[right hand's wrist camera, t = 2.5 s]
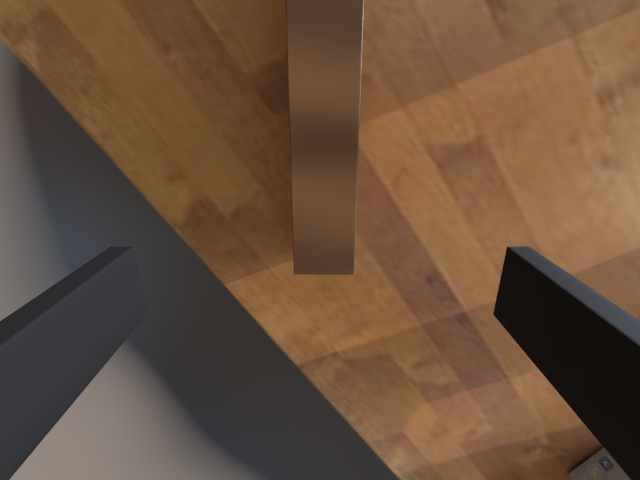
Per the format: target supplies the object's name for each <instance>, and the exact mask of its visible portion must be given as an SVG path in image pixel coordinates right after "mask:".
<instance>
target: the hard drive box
mask: <svg viewBox="0 0 640 480" xmlns="http://www.w3.org/2000/svg"><path fill="white" fill-rule="evenodd" d="M568 476H569V478H570V479H571V480H631V479H630V478H629V477H628V476H627V474H626V473H625V472H624V471H623V470H622V468H621V467H620V466H619V465H618V464H617V462H616V461H615V460H614V459H613V458H612V456H611V455H610V454H609V453H608V452H607V450H606V449H605V448H602V449H601V450H600V451H598V452H597V453H596V454H594V455H593V456H592V457H590V458H589V459H588V460H586V461H585V462H584V463H582V464H581V465H580V466H578V467H577V468H576V469H574V470H573V471H571V472H570V473H569V474H568Z"/></svg>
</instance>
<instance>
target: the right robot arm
mask: <svg viewBox="0 0 640 480" xmlns="http://www.w3.org/2000/svg"><path fill="white" fill-rule="evenodd" d="M493 315H494V316H495V317H496V318H497V319H498V321H499V322H500V323H501V324H502V325H503V327H504V328H505V329H506V330H507V331H508V333H509V334H510V335H511V336H512V337H513V339H514V340H515V341H516V342H517V343H518V345H519V346H520V347H521V348H522V349H523V351H524V352H525V353H526V354H527V355H528V357H529V358H530V359H531V360H532V361H533V363H534V364H535V365H536V366H537V367H538V369H539V370H540V371H541V372H542V373H543V375H544V376H545V377H546V378H547V379H548V381H549V382H550V383H551V384H552V385H553V387H554V388H555V389H556V390H557V391H558V393H559V394H560V395H561V396H562V397H563V399H564V400H565V401H566V402H567V404H568V405H569V406H570V407H571V408H572V410H573V411H574V412H575V413H576V414H577V416H578V417H579V418H580V419H581V420H582V422H583V423H584V424H585V425H586V426H587V428H588V429H589V430H590V431H591V432H592V434H593V435H594V436H595V437H596V438H597V440H598V441H599V442H600V443H601V444H602V446H603V447H604V448H605V449H606V450H607V452H608V453H609V454H610V455H611V456H612V458H613V459H614V460H615V461H616V462H617V464H618V465H619V466H620V467H621V468H622V470H623V471H624V472H625V473H626V474H627V476H628V477H629V478H630V479H631V480H640V321H638V320H637V319H635V318H634V317H632V316H631V315H629V314H628V313H626V312H625V311H624V310H622V309H621V308H619V307H618V306H616V305H615V304H613V303H612V302H610V301H609V300H607V299H606V298H604V297H603V296H601V295H600V294H598V293H597V292H595V291H594V290H592V289H591V288H589V287H588V286H586V285H585V284H583V283H582V282H580V281H579V280H578V279H576V278H575V277H573V276H572V275H570V274H569V273H567V272H566V271H564V270H563V269H561V268H560V267H558V266H557V265H555V264H554V263H552V262H551V261H549V260H548V259H546V258H545V257H543V256H542V255H540V254H539V253H537V252H536V251H535V250H533V249H532V248H530V247H507V250H506V255H505V260H504V265H503V270H502V275H501V280H500V284H499V289H498V294H497V299H496V304H495V309H494V314H493ZM145 316H146V309H145V304H144V299H143V294H142V289H141V284H140V280H139V275H138V270H137V265H136V260H135V255H134V250H133V247H110V248H108V249H107V250H106V251H104V252H103V253H101V254H100V255H98V256H97V257H95V258H94V259H92V260H91V261H89V262H88V263H86V264H85V265H83V266H82V267H80V268H79V269H77V270H76V271H74V272H73V273H71V274H70V275H68V276H67V277H65V278H64V279H62V280H61V281H60V282H58V283H57V284H55V285H54V286H52V287H51V288H49V289H48V290H46V291H45V292H43V293H42V294H40V295H39V296H37V297H36V298H34V299H33V300H31V301H30V302H28V303H27V304H25V305H24V306H22V307H21V308H19V309H18V310H16V311H15V312H14V313H12V314H11V315H9V316H8V317H6V318H5V319H3V320H2V321H0V480H9V479H10V478H11V477H12V476H13V474H14V473H15V472H16V471H17V470H18V468H19V467H20V466H21V465H22V464H23V462H24V461H25V460H26V459H27V458H28V456H29V455H30V454H31V453H32V452H33V450H34V449H35V448H36V447H37V446H38V444H39V443H40V442H41V441H42V440H43V438H44V437H45V436H46V435H47V434H48V432H49V431H50V430H51V429H52V428H53V426H54V425H55V424H56V423H57V422H58V420H59V419H60V418H61V417H62V415H63V414H64V413H65V412H66V411H67V409H68V408H69V407H70V406H71V405H72V404H73V402H74V401H75V400H76V399H77V397H78V396H79V395H80V394H81V393H82V391H83V390H84V389H85V388H86V387H87V385H88V384H89V383H90V382H91V381H92V379H93V378H94V377H95V376H96V375H97V373H98V372H99V371H100V370H101V369H102V367H103V366H104V365H105V364H106V363H107V361H108V360H109V359H110V358H111V357H112V355H113V354H114V353H115V352H116V351H117V349H118V348H119V347H120V346H121V345H122V343H123V342H124V341H125V340H126V339H127V337H128V336H129V335H130V334H131V333H132V331H133V330H134V329H135V328H136V327H137V325H138V324H139V323H140V322H141V321H142V319H143V318H144V317H145Z"/></svg>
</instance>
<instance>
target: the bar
mask: <svg viewBox="0 0 640 480" xmlns="http://www.w3.org/2000/svg"><path fill="white" fill-rule="evenodd" d="M363 12H364V0H286V15H287V50H288V84H289V119H290V153H291V188H292V222H293V256H294V274H354V250H355V224H356V197H357V171H358V144H359V118H360V91H361V65H362V38H363Z"/></svg>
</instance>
